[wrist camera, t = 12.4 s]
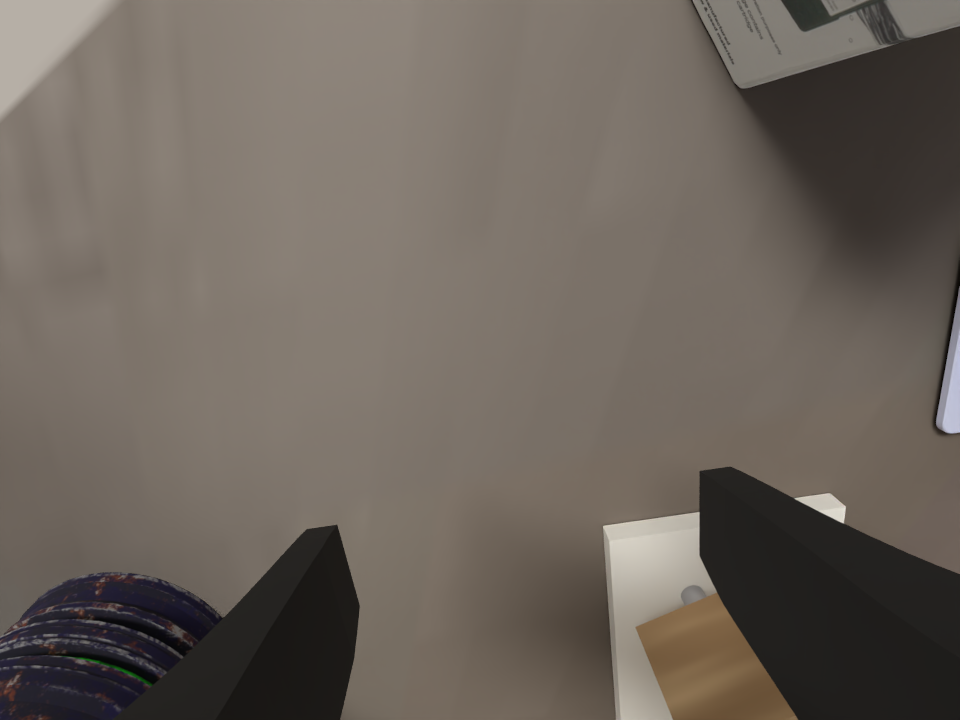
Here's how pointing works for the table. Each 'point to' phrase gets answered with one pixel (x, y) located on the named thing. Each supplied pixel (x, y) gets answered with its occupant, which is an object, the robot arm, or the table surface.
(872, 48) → the ink box
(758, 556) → the robot arm
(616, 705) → the peg stand
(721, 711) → the tan wooden block
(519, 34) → the table surface
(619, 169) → the table surface
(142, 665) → the storage jar
